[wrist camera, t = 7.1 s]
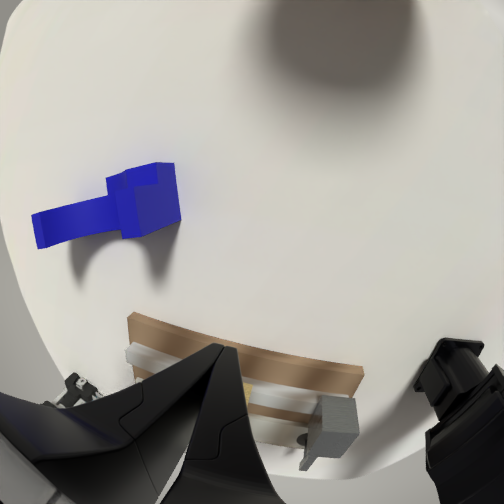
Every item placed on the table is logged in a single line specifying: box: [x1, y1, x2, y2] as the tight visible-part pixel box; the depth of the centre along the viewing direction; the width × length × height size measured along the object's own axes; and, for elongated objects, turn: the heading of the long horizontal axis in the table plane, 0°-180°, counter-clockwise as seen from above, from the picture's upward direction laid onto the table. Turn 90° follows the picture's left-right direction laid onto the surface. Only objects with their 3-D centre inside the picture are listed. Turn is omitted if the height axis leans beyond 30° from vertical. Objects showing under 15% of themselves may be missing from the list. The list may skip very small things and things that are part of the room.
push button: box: [40, 373, 103, 408], centre depth 26 cm, size 7×5×10 cm
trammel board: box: [125, 312, 364, 449], centre depth 23 cm, size 22×13×3 cm, turn 80°
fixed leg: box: [299, 395, 360, 471], centre depth 19 cm, size 3×10×5 cm, turn 170°
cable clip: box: [31, 162, 181, 249], centre depth 19 cm, size 12×4×6 cm, turn 96°
